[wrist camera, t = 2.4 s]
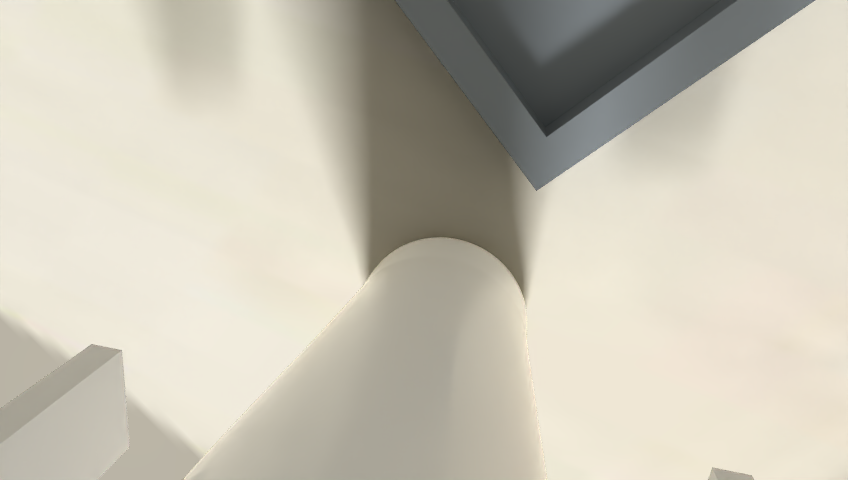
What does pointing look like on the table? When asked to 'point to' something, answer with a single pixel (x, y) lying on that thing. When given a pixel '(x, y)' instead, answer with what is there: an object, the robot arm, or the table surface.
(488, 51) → the grey tray
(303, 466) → the white cup
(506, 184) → the table surface
